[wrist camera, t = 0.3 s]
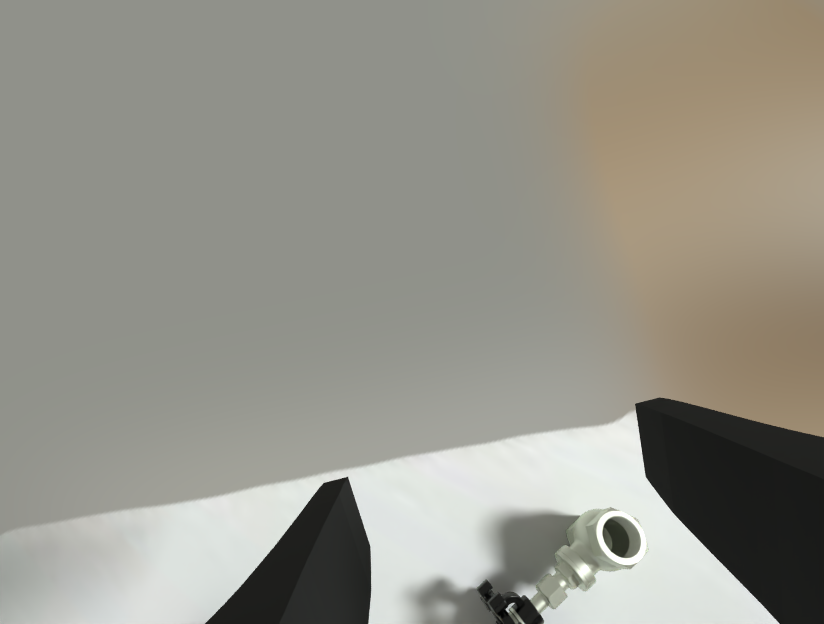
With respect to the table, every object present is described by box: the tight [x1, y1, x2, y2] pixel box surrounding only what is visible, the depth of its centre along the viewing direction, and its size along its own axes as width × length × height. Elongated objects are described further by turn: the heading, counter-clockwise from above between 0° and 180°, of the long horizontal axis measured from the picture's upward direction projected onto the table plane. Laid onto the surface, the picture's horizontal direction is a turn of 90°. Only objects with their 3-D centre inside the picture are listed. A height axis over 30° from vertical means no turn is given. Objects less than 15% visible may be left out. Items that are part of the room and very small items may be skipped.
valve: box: [477, 507, 648, 624], centre depth 30 cm, size 7×7×12 cm
